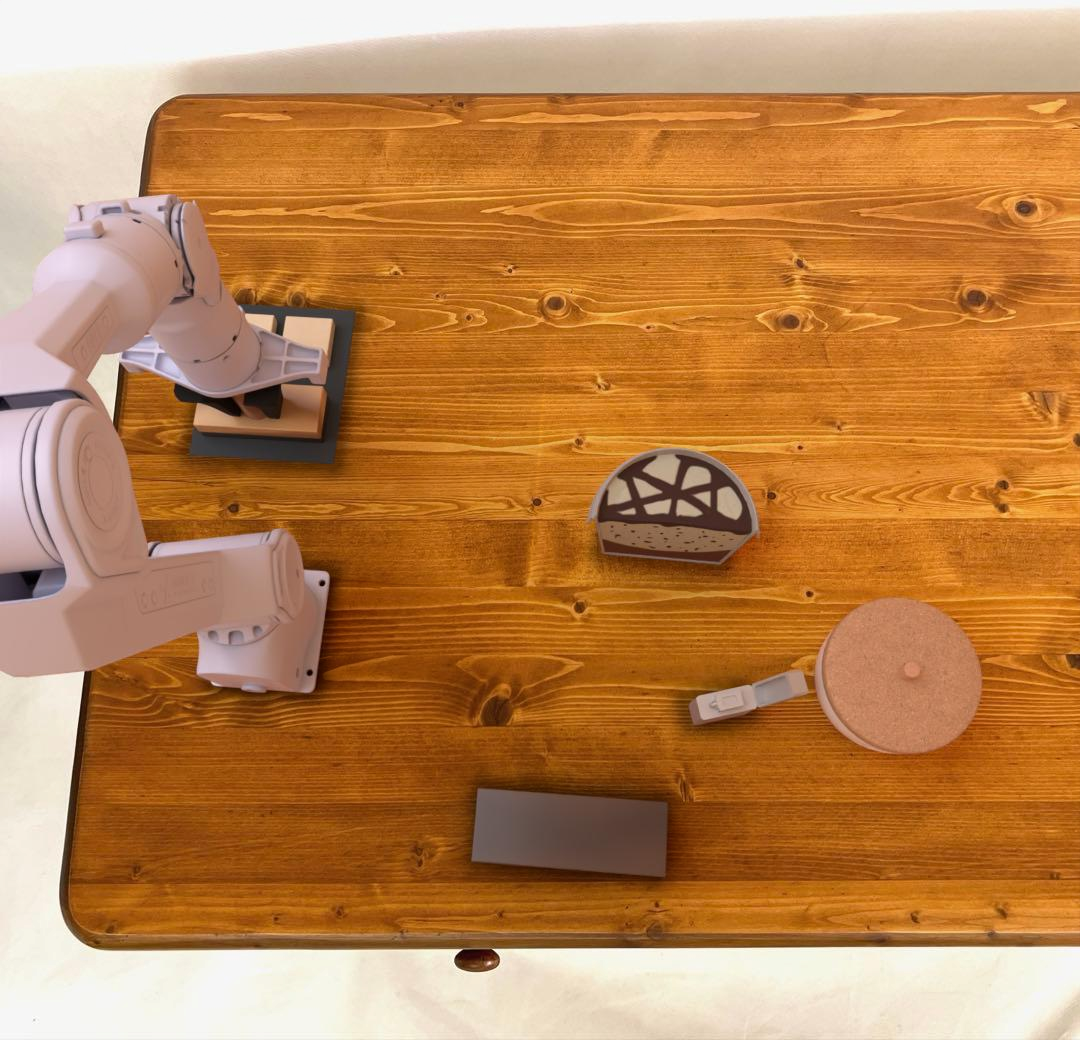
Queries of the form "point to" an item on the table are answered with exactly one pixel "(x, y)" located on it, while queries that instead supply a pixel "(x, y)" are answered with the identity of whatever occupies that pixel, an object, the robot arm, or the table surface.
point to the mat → (332, 386)
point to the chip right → (311, 332)
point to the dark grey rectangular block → (570, 832)
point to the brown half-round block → (674, 508)
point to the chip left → (263, 321)
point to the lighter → (747, 697)
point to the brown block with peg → (296, 422)
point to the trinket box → (898, 677)
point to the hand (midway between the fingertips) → (258, 406)
